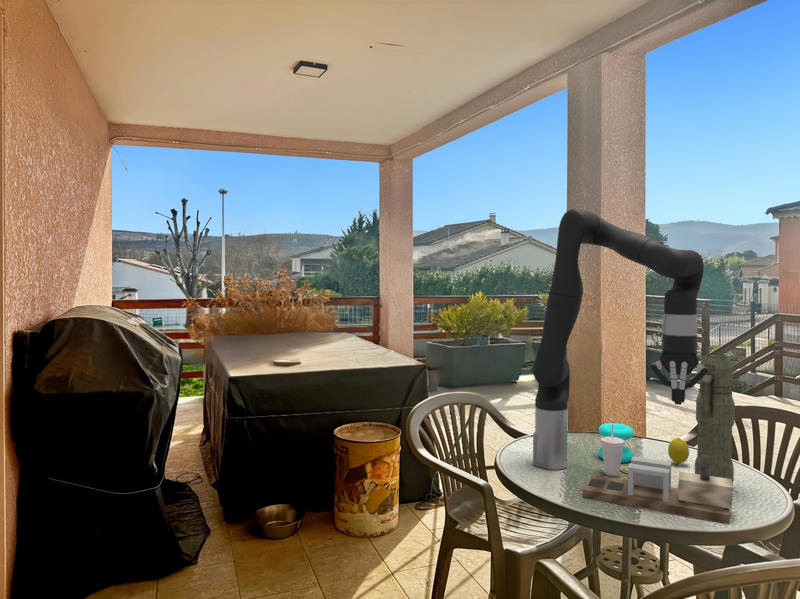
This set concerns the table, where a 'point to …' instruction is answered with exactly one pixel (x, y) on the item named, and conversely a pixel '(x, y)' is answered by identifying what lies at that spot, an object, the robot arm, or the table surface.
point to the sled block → (705, 487)
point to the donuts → (619, 432)
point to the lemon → (678, 451)
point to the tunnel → (649, 475)
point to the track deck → (650, 499)
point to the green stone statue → (716, 416)
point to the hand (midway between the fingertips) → (677, 403)
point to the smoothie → (612, 453)
